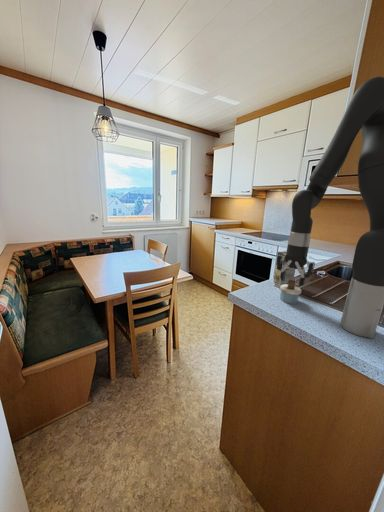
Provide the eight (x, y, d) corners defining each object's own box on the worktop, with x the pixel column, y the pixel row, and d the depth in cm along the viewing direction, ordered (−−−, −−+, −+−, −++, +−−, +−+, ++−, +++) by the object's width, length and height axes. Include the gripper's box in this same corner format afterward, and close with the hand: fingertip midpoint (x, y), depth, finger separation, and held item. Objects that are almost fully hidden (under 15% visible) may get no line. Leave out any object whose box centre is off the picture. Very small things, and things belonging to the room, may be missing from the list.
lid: (304, 291, 88) (306, 281, 87) (296, 296, 83) (298, 285, 82) (285, 285, 94) (286, 275, 93) (276, 289, 88) (278, 279, 87)
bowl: (299, 300, 89) (301, 291, 88) (292, 305, 85) (294, 295, 84) (284, 295, 94) (286, 285, 93) (277, 299, 90) (278, 289, 89)
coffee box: (272, 281, 110) (277, 251, 105) (284, 281, 110) (290, 251, 105) (279, 288, 101) (284, 256, 96) (292, 289, 101) (298, 256, 96)
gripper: (321, 245, 81) (313, 286, 85) (284, 239, 91) (278, 276, 95) (315, 248, 76) (306, 291, 80) (276, 241, 86) (270, 279, 90)
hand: (291, 282), depth 87 cm, fingers open, 6 cm apart
